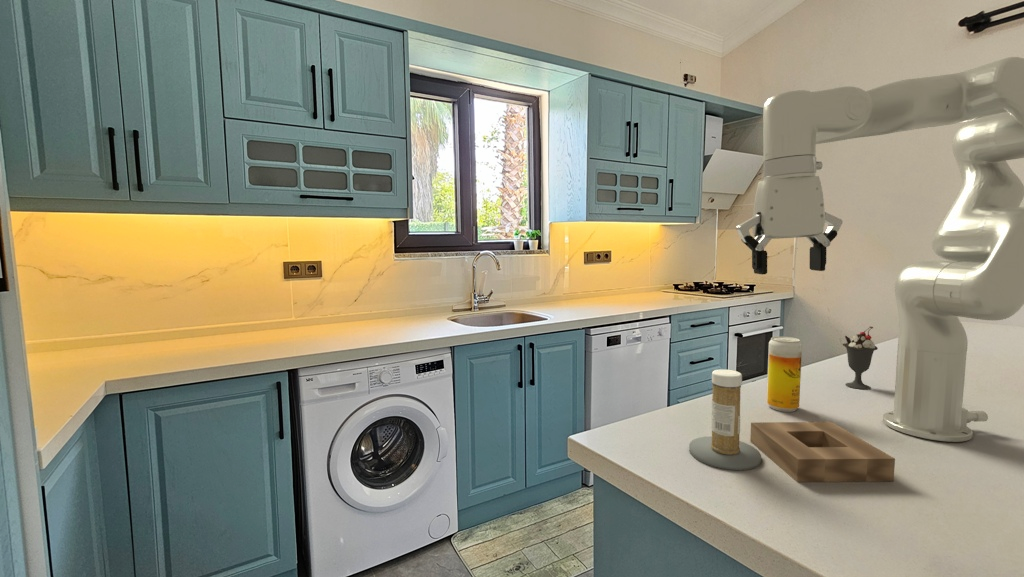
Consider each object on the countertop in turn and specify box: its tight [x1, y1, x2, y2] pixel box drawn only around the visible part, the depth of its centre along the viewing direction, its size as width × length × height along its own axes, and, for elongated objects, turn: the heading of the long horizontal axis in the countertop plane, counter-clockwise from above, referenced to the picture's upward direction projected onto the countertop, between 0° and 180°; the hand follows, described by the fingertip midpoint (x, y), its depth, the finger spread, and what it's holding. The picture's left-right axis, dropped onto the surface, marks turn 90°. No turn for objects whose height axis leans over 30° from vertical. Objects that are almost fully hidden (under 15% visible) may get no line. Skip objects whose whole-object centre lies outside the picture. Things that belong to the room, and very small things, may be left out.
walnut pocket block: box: [749, 421, 896, 483], centre depth 76 cm, size 14×14×4 cm
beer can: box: [766, 336, 803, 413], centre depth 99 cm, size 6×6×15 cm
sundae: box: [842, 326, 878, 390], centre depth 113 cm, size 7×7×15 cm
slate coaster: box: [688, 435, 762, 471], centre depth 79 cm, size 11×11×1 cm
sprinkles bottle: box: [711, 369, 743, 455], centre depth 78 cm, size 5×5×14 cm
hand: (788, 272), depth 80 cm, fingers open, 9 cm apart
